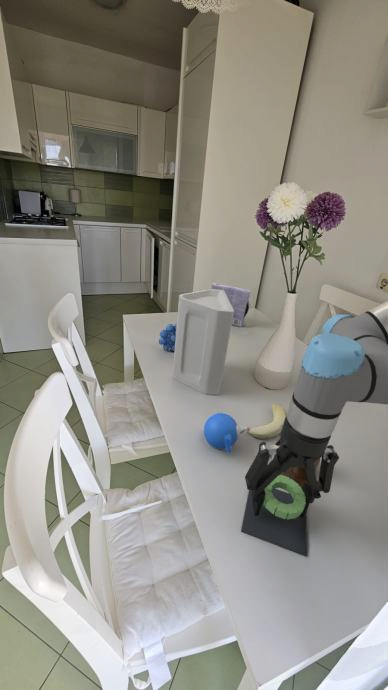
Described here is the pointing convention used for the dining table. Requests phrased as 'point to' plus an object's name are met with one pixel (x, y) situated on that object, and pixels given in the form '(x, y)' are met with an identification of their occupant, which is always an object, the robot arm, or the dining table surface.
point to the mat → (276, 525)
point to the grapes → (168, 337)
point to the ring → (280, 508)
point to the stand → (299, 474)
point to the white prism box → (202, 339)
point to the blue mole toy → (222, 431)
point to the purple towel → (236, 301)
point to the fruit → (271, 424)
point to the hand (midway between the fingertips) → (277, 509)
